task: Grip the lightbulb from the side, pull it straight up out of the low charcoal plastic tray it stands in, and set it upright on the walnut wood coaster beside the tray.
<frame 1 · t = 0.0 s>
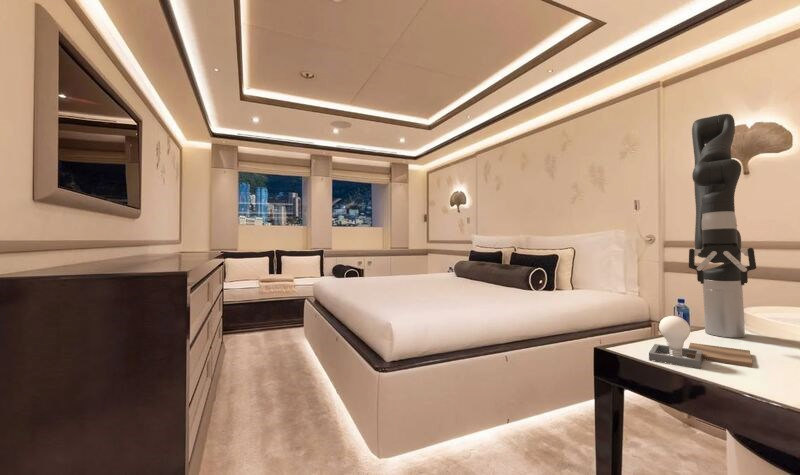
hand: (721, 284, 100), 17 cm above the table, tool pointing down, fingers open, 8 cm apart
coaster: (718, 355, 91), on the table
lightbulb: (675, 359, 90), resting in tray
tray: (675, 358, 90), on the table
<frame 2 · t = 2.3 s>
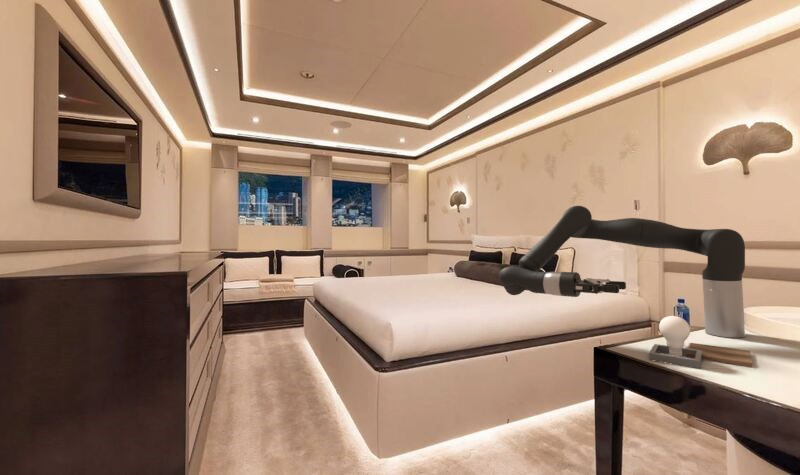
hand: (622, 287, 97), 18 cm above the table, tool horizontal, fingers open, 8 cm apart
nothing on the table moved.
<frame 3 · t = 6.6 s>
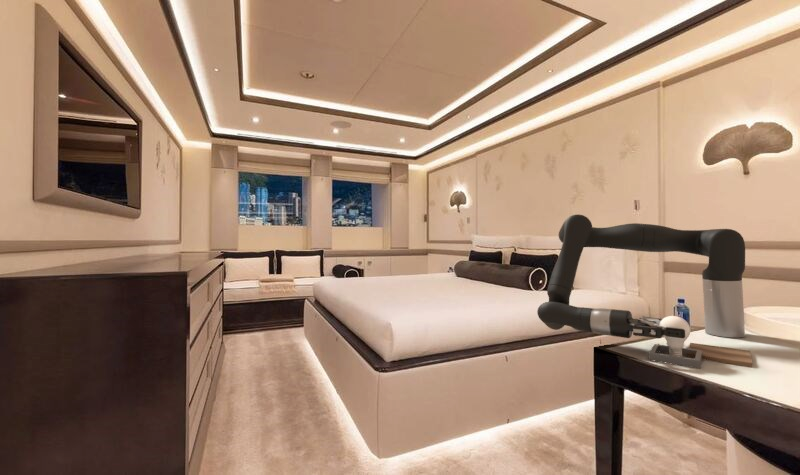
hand: (686, 330, 88), 8 cm above the table, tool horizontal, fingers closed on lightbulb, 6 cm apart
lightbulb: (675, 359, 90), resting in tray, touching gripper
when the fingers open (10 cm above the table, at t = 12.4 s): lightbulb drops 1 cm, resting on coaster.
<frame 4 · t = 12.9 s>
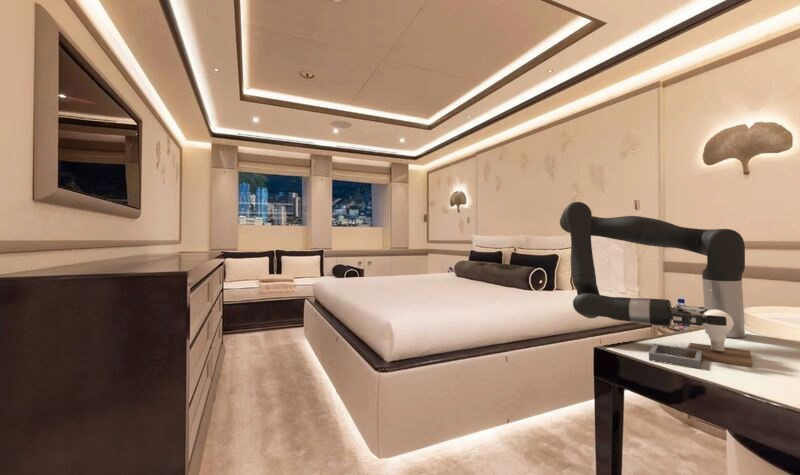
hand: (726, 318, 89), 10 cm above the table, tool horizontal, fingers open, 8 cm apart
lightbulb: (717, 352, 91), point 1 cm above the table, touching coaster
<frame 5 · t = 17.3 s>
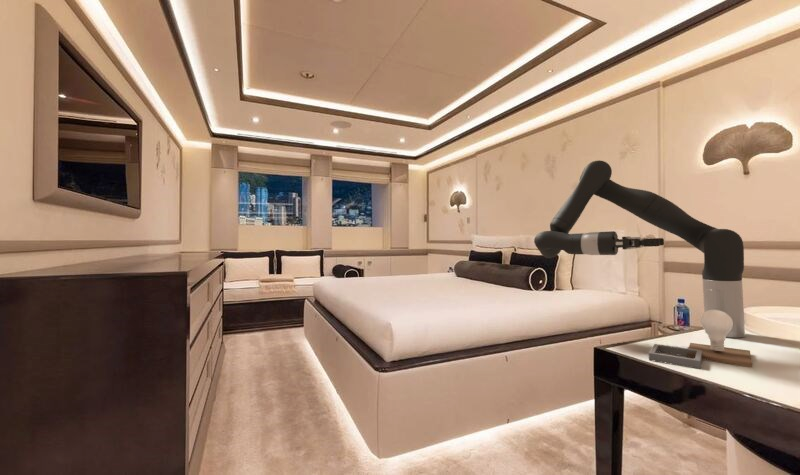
hand: (661, 242, 101), 30 cm above the table, tool horizontal, fingers open, 8 cm apart
nothing on the table moved.
at the end: lightbulb inside the target area (0.3 cm from its centre), point 0.8 cm above the table; lightbulb tilted 0°; the gripper is holding nothing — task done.
